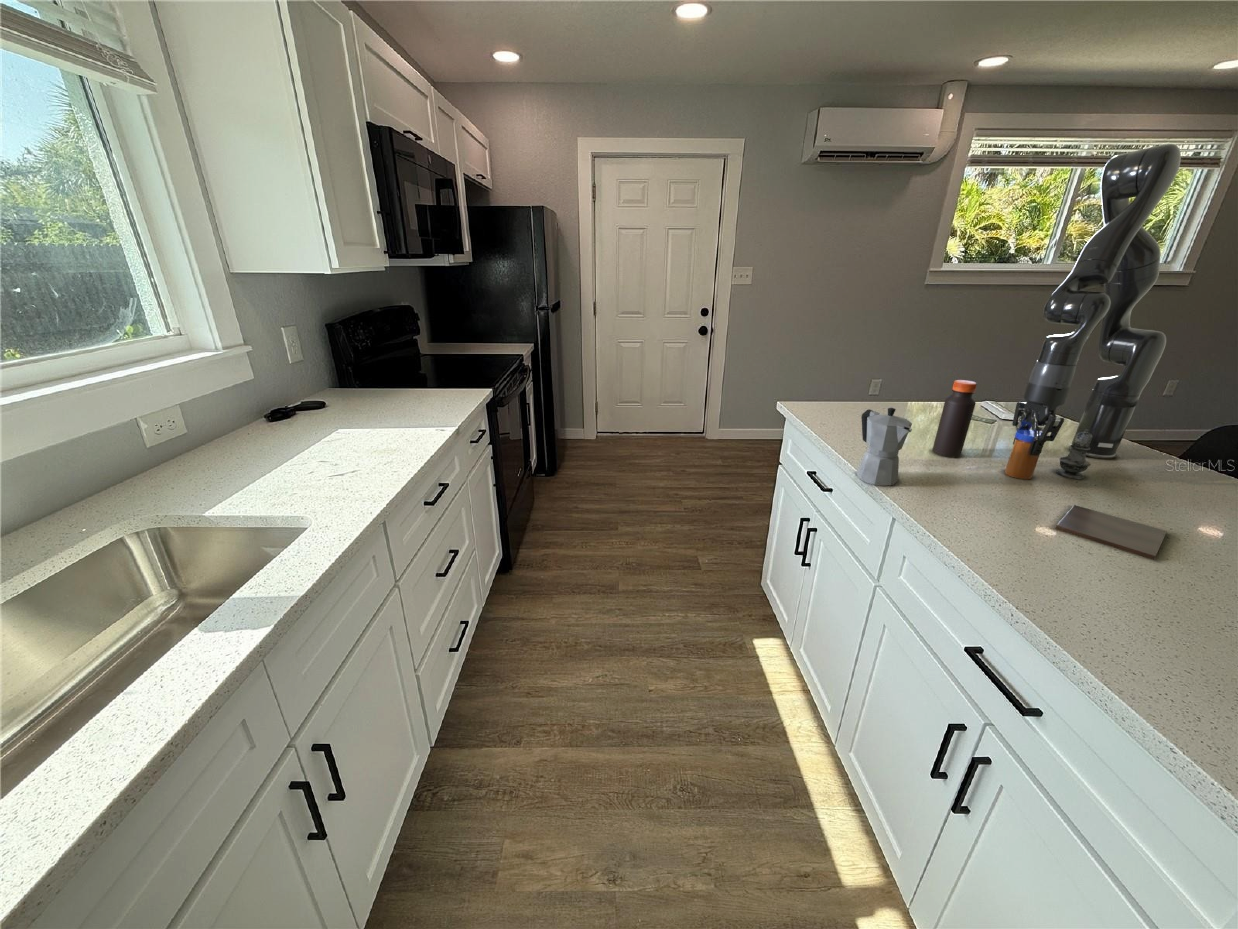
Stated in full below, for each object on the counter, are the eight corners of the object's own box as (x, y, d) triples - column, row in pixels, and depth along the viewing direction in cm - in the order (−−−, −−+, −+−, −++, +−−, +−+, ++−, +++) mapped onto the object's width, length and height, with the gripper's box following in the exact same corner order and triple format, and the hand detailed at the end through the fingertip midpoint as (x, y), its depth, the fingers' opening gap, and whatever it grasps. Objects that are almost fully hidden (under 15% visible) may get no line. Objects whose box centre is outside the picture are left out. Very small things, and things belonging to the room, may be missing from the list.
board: (1072, 508, 106) (1074, 504, 105) (1165, 534, 96) (1167, 530, 95) (1055, 528, 98) (1056, 525, 97) (1153, 559, 88) (1155, 556, 87)
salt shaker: (1091, 480, 119) (1110, 433, 114) (1063, 478, 120) (1081, 432, 115) (1075, 470, 124) (1093, 425, 119) (1049, 468, 125) (1065, 424, 120)
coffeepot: (913, 487, 115) (931, 414, 108) (878, 491, 114) (895, 417, 107) (868, 463, 129) (882, 396, 122) (837, 466, 127) (849, 399, 120)
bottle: (934, 455, 134) (953, 384, 126) (930, 447, 140) (947, 378, 132) (963, 459, 131) (984, 386, 124) (957, 450, 137) (977, 380, 129)
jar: (1008, 468, 125) (1021, 431, 121) (1034, 475, 122) (1048, 436, 118) (1001, 474, 122) (1014, 435, 118) (1027, 481, 118) (1041, 441, 115)
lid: (1040, 445, 115) (1042, 439, 114) (1011, 438, 119) (1013, 432, 118) (1049, 440, 118) (1051, 434, 117) (1020, 433, 122) (1022, 427, 121)
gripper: (1013, 374, 120) (992, 439, 126) (1051, 389, 107) (1026, 460, 113) (1047, 376, 119) (1024, 441, 125) (1090, 390, 106) (1062, 462, 112)
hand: (1025, 450), depth 119 cm, fingers closed on lid, 5 cm apart
